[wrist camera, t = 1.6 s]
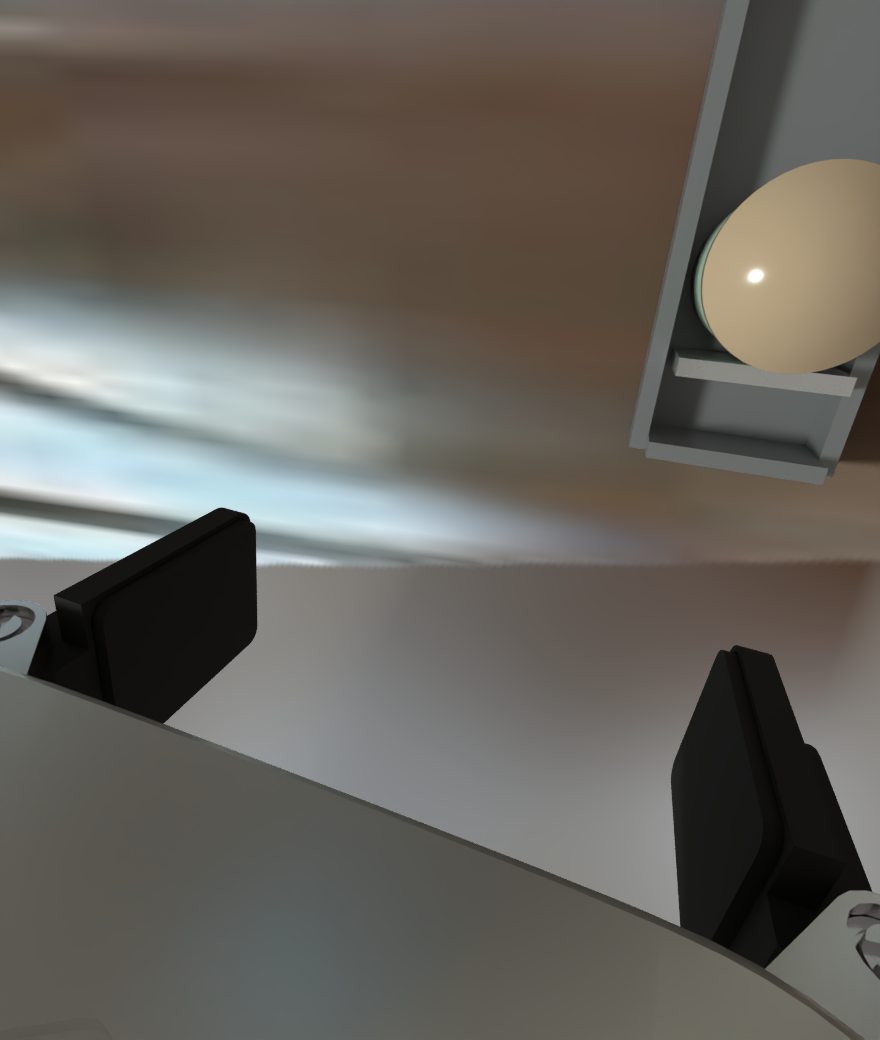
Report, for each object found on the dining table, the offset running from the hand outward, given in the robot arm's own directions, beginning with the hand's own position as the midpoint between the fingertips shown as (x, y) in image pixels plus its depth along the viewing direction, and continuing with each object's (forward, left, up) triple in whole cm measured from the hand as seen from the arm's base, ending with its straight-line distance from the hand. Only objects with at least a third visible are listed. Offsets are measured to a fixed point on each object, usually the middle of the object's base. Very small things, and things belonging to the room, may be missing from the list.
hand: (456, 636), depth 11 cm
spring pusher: (-3, +8, -24) cm, 25 cm away
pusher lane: (-10, +8, -24) cm, 27 cm away
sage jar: (-7, +8, -24) cm, 26 cm away
